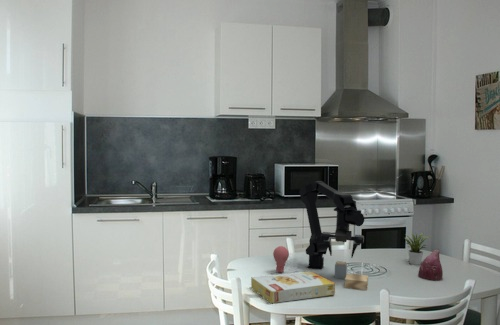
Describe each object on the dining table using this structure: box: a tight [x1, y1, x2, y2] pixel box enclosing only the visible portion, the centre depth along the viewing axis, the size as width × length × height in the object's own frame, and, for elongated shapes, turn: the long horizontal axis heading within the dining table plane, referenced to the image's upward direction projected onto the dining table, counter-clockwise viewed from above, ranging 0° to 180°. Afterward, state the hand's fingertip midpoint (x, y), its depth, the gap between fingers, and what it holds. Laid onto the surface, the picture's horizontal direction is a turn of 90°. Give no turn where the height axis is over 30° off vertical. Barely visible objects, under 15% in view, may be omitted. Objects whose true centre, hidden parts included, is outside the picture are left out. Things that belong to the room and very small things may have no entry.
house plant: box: [404, 232, 432, 266], centre depth 244 cm, size 14×14×16 cm
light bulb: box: [272, 245, 290, 273], centre depth 221 cm, size 7×7×12 cm
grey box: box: [334, 260, 348, 280], centre depth 217 cm, size 5×5×7 cm
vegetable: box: [417, 248, 444, 282], centre depth 220 cm, size 10×10×15 cm
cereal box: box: [250, 270, 336, 304], centre depth 195 cm, size 20×6×28 cm
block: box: [344, 272, 369, 291], centre depth 205 cm, size 9×9×4 cm
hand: (341, 256), depth 217 cm, fingers open, 9 cm apart
